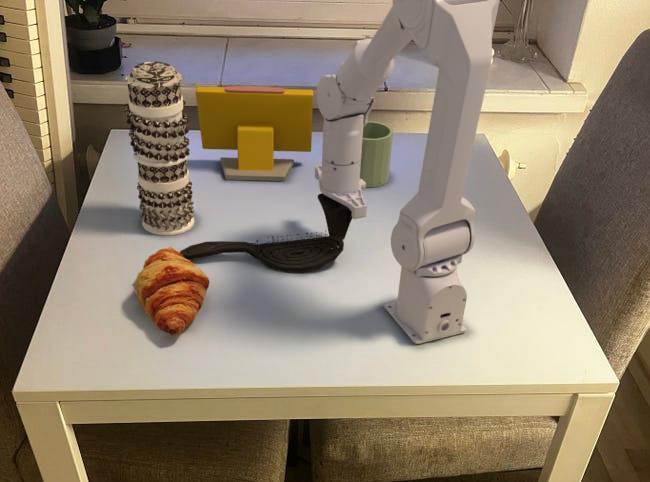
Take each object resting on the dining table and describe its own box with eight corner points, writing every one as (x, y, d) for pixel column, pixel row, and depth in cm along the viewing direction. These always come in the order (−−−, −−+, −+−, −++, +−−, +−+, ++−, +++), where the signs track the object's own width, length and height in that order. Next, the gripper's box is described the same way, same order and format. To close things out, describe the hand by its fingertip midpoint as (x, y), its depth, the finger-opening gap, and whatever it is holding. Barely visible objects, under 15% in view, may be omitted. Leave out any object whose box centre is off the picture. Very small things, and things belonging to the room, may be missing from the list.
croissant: (152, 281, 117) (121, 243, 112) (208, 250, 116) (179, 209, 111) (158, 366, 101) (122, 325, 96) (224, 330, 100) (191, 287, 95)
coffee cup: (395, 183, 139) (401, 136, 133) (355, 190, 136) (358, 142, 130) (375, 165, 145) (379, 118, 139) (336, 171, 142) (338, 124, 136)
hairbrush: (181, 227, 118) (342, 222, 119) (184, 248, 121) (342, 243, 121) (174, 255, 112) (345, 250, 112) (178, 277, 114) (345, 271, 115)
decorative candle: (135, 212, 127) (115, 58, 111) (191, 206, 130) (178, 54, 114) (143, 239, 120) (123, 80, 105) (201, 232, 123) (190, 75, 107)
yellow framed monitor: (310, 163, 144) (313, 79, 134) (310, 182, 138) (313, 95, 128) (204, 160, 144) (198, 75, 134) (199, 179, 137) (193, 92, 127)
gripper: (388, 174, 108) (380, 256, 117) (345, 134, 119) (340, 213, 127) (343, 181, 106) (338, 265, 115) (303, 140, 116) (301, 220, 125)
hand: (337, 238), depth 121 cm, fingers closed
